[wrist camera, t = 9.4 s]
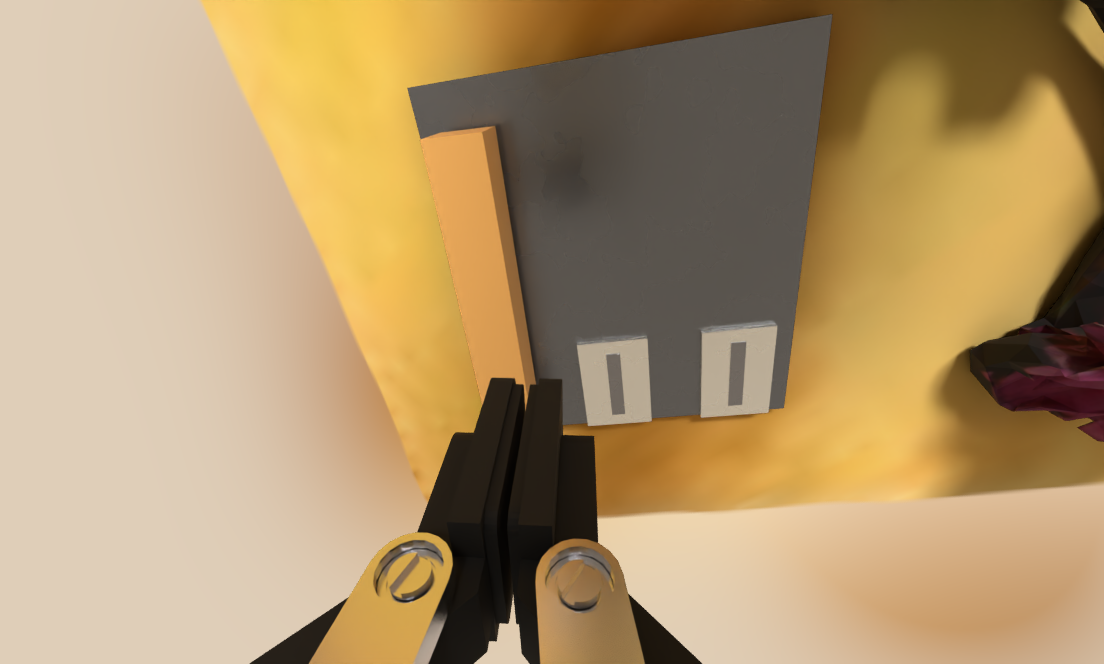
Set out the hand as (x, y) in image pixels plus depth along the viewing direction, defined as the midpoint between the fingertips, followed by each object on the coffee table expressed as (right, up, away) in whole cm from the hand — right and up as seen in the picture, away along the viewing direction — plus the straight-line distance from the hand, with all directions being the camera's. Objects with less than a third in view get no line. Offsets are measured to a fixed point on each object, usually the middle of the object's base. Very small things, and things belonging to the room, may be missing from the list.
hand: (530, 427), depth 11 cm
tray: (+4, +6, +14) cm, 16 cm away
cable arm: (-2, +4, +13) cm, 14 cm away
